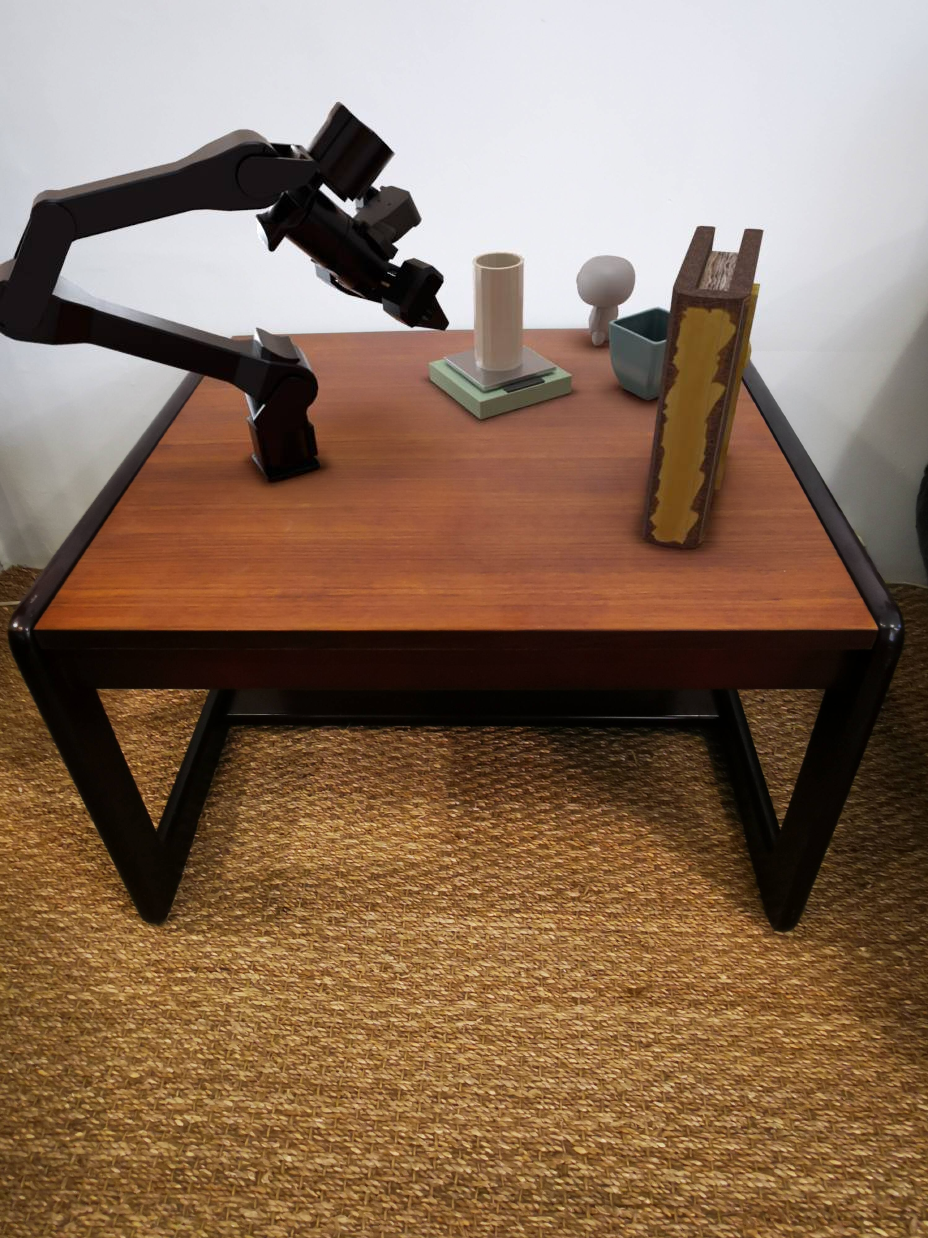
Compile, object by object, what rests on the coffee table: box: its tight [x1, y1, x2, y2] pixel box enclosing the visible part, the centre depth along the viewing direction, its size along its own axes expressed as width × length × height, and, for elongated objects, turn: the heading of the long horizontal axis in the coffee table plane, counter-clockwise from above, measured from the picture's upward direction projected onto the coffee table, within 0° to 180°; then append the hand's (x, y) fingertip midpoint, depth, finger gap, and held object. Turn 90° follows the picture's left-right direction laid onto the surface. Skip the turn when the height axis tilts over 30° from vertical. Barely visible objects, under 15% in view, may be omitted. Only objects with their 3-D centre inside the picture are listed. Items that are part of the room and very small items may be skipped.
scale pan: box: [443, 345, 557, 391], centre depth 110 cm, size 11×11×1 cm
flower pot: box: [608, 306, 670, 401], centre depth 107 cm, size 9×9×9 cm
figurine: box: [575, 254, 636, 347], centre depth 118 cm, size 8×8×12 cm
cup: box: [471, 251, 525, 371], centre depth 106 cm, size 6×6×13 cm
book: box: [640, 225, 764, 550], centre depth 83 cm, size 22×8×25 cm, turn 162°
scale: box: [428, 344, 573, 421], centre depth 111 cm, size 14×14×3 cm
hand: (423, 315), depth 97 cm, fingers open, 9 cm apart
